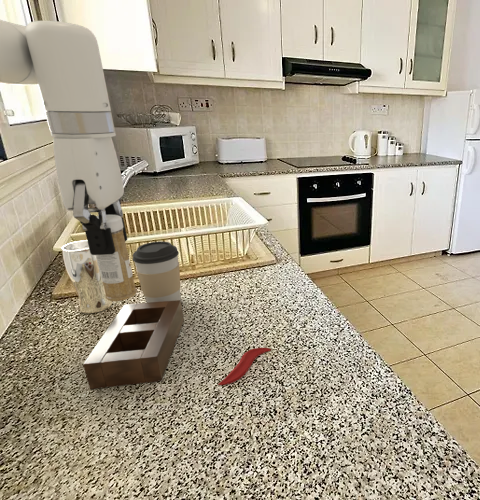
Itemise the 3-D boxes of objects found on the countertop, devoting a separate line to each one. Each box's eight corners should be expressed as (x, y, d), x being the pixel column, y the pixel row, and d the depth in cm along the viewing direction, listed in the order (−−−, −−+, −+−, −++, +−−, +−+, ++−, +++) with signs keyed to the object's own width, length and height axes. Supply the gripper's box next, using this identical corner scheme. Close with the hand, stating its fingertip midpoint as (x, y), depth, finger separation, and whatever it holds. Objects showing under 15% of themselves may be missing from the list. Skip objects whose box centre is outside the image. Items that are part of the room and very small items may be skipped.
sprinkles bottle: (143, 291, 63) (128, 215, 58) (121, 304, 59) (103, 223, 54) (120, 287, 64) (104, 212, 59) (98, 300, 60) (78, 220, 55)
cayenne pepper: (263, 345, 73) (263, 336, 72) (279, 355, 70) (278, 346, 70) (207, 376, 64) (206, 367, 64) (222, 389, 62) (221, 379, 61)
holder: (89, 389, 61) (82, 364, 59) (128, 325, 78) (124, 304, 76) (162, 381, 63) (157, 356, 61) (184, 320, 81) (180, 299, 79)
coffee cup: (133, 310, 84) (120, 248, 78) (166, 293, 92) (155, 235, 86) (164, 319, 81) (152, 255, 75) (194, 300, 88) (186, 241, 83)
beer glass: (120, 304, 86) (106, 244, 80) (87, 318, 80) (69, 253, 75) (104, 296, 89) (90, 237, 84) (71, 308, 84) (54, 246, 78)
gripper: (79, 122, 59) (104, 231, 66) (14, 129, 43) (55, 271, 50) (131, 122, 60) (151, 229, 67) (86, 130, 45) (117, 267, 52)
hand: (110, 246), depth 58 cm, fingers closed on sprinkles bottle, 4 cm apart
